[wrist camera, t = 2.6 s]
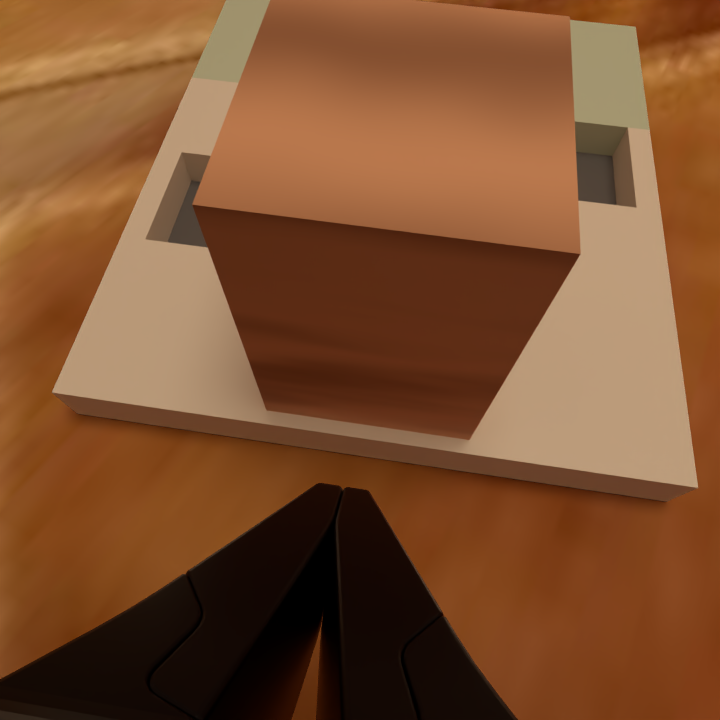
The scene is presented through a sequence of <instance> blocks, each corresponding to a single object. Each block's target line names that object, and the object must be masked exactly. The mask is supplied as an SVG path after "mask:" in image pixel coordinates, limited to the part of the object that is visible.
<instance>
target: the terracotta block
mask: <svg viewBox="0 0 720 720" xmlns="http://www.w3.org/2000/svg"><path fill="white" fill-rule="evenodd" d="M192 206H193V208H194V211H195V214H196V217H197V220H198V222H199V225H200V228H201V231H202V233H203V236H204V239H205V242H206V244H207V247H208V250H209V253H210V256H211V258H212V261H213V264H214V267H215V269H216V272H217V275H218V278H219V280H220V283H221V286H222V289H223V292H224V294H225V297H226V300H227V303H228V305H229V308H230V311H231V314H232V316H233V319H234V322H235V325H236V327H237V330H238V333H239V336H240V339H241V341H242V344H243V347H244V350H245V352H246V355H247V358H248V361H249V363H250V366H251V369H252V372H253V375H254V377H255V380H256V383H257V386H258V388H259V391H260V394H261V397H262V399H263V402H264V405H265V408H266V410H267V411H274V412H281V413H288V414H295V415H302V416H308V417H315V418H322V419H329V420H336V421H343V422H349V423H356V424H363V425H370V426H377V427H384V428H390V429H397V430H404V431H411V432H418V433H425V434H431V435H438V436H445V437H452V438H459V439H466V440H470V438H471V437H472V435H473V433H474V432H475V430H476V428H477V427H478V425H479V423H480V422H481V420H482V418H483V417H484V415H485V413H486V412H487V410H488V408H489V407H490V405H491V403H492V402H493V400H494V398H495V396H496V395H497V393H498V391H499V390H500V388H501V386H502V385H503V383H504V381H505V380H506V378H507V376H508V375H509V373H510V371H511V370H512V368H513V366H514V365H515V363H516V361H517V360H518V358H519V356H520V355H521V353H522V351H523V350H524V348H525V346H526V345H527V343H528V341H529V340H530V338H531V336H532V335H533V333H534V331H535V330H536V328H537V326H538V325H539V323H540V321H541V320H542V318H543V316H544V315H545V313H546V311H547V310H548V308H549V306H550V305H551V303H552V301H553V299H554V298H555V296H556V294H557V293H558V291H559V289H560V288H561V286H562V284H563V283H564V281H565V279H566V278H567V276H568V274H569V273H570V271H571V269H572V268H573V266H574V264H575V263H576V261H577V259H578V258H579V256H580V254H581V249H580V227H579V205H578V183H577V162H576V140H575V118H574V96H573V74H572V52H571V30H570V17H568V16H559V15H549V14H539V13H530V12H520V11H511V10H501V9H492V8H482V7H473V6H463V5H453V4H444V3H434V2H425V1H415V0H270V2H269V4H268V7H267V10H266V12H265V15H264V18H263V20H262V23H261V25H260V28H259V31H258V33H257V36H256V39H255V41H254V44H253V46H252V49H251V52H250V54H249V57H248V59H247V62H246V65H245V67H244V70H243V73H242V75H241V78H240V80H239V83H238V86H237V88H236V91H235V94H234V96H233V99H232V101H231V104H230V107H229V109H228V112H227V114H226V117H225V120H224V122H223V125H222V128H221V130H220V133H219V135H218V138H217V141H216V143H215V146H214V149H213V151H212V154H211V156H210V159H209V162H208V164H207V167H206V169H205V172H204V175H203V177H202V180H201V183H200V185H199V188H198V190H197V193H196V196H195V198H194V201H193V204H192Z"/></svg>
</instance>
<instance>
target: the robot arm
mask: <svg viewBox="0 0 720 720" xmlns="http://www.w3.org/2000/svg"><path fill="white" fill-rule="evenodd" d="M322 617H323V620H322ZM321 622H322V628H321V640H320V656H319V675H318V693H317V712H316V720H518V719H517V718H516V717H515V716H514V714H513V713H512V712H511V710H510V709H509V708H508V707H507V705H506V704H505V703H504V702H503V700H502V699H501V698H500V696H499V695H498V694H497V692H496V691H495V690H494V688H493V687H492V686H491V684H490V683H489V682H488V680H487V679H486V678H485V676H484V675H483V674H482V672H481V671H480V669H479V668H478V667H477V665H476V664H475V663H474V661H473V660H472V658H471V657H470V655H469V653H468V652H467V650H466V649H465V647H464V646H463V644H462V643H461V641H460V640H459V638H458V637H457V635H456V633H455V632H454V630H453V629H452V627H451V625H450V624H449V622H448V620H447V619H446V617H444V615H443V612H442V611H441V609H440V607H439V606H438V604H437V602H436V601H435V599H434V598H433V596H432V594H431V593H430V591H429V589H428V588H427V586H426V584H425V583H424V581H423V579H422V578H421V576H420V574H419V573H418V571H417V569H416V568H415V566H414V565H413V563H412V561H411V560H410V558H409V556H408V555H407V553H406V551H405V550H404V548H403V546H402V545H401V543H400V541H399V540H398V538H397V537H396V535H395V533H394V532H393V530H392V528H391V527H390V525H389V523H388V522H387V520H386V518H385V517H384V515H383V513H382V512H381V510H380V509H379V507H378V505H377V504H376V502H375V500H374V499H373V497H372V495H371V494H370V492H369V491H367V490H363V489H357V488H350V487H346V488H345V489H344V490H343V489H342V488H341V487H340V486H337V485H330V484H324V483H318V484H316V485H315V486H313V487H312V488H310V489H309V490H307V491H306V492H304V493H303V494H301V495H300V496H298V497H297V498H295V499H294V500H292V501H291V502H289V503H288V504H286V505H285V506H284V507H282V508H281V509H279V510H278V511H276V512H275V513H273V514H272V515H270V516H269V517H267V518H266V519H264V520H263V521H261V522H260V523H258V524H257V525H255V526H254V527H252V528H251V529H249V530H248V531H246V532H245V533H243V534H242V535H240V536H239V537H237V538H236V539H235V540H233V541H232V542H230V543H229V544H227V545H226V546H224V547H223V548H221V549H220V550H218V551H217V552H215V553H214V554H212V555H211V556H209V557H208V558H206V559H205V560H203V561H202V562H200V563H199V564H197V565H196V566H194V567H193V568H191V569H190V570H188V571H187V573H186V574H182V575H181V576H179V577H178V578H176V579H175V580H173V581H172V582H170V583H169V584H167V585H166V586H164V587H163V588H161V589H160V590H158V591H156V592H155V593H153V594H152V595H150V596H149V597H147V598H145V599H144V600H142V601H141V602H139V603H138V604H136V605H134V606H133V607H131V608H129V609H128V610H126V611H124V612H122V613H121V614H119V615H117V616H115V617H113V618H112V619H110V620H108V621H106V622H105V623H103V624H101V625H99V626H98V627H96V628H94V629H92V630H90V631H89V632H87V633H85V634H83V635H81V636H79V637H78V638H76V639H74V640H72V641H70V642H68V643H66V644H65V645H63V646H61V647H59V648H57V649H55V650H53V651H52V652H50V653H48V654H46V655H44V656H42V657H41V658H39V659H37V660H35V661H33V662H31V663H29V664H28V665H26V666H24V667H22V668H20V669H18V670H16V671H15V672H13V673H11V674H9V675H7V676H5V677H4V678H2V679H0V720H291V719H292V716H293V713H294V710H295V707H296V703H297V700H298V697H299V694H300V691H301V688H302V685H303V682H304V678H305V675H306V672H307V669H308V666H309V663H310V660H311V657H312V654H313V650H314V647H315V644H316V641H317V637H318V634H319V630H320V627H321Z"/></svg>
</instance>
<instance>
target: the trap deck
mask: <svg viewBox="0 0 720 720" xmlns="http://www.w3.org/2000/svg"><path fill="white" fill-rule="evenodd" d="M237 86H238V83H236V82H227V81H218V80H210V79H201V78H191V81H190V83H189V85H188V87H187V90H186V92H185V94H184V96H183V99H182V101H181V103H180V105H179V108H178V110H177V112H176V114H175V117H174V119H173V121H172V123H171V126H170V128H169V130H168V132H167V135H166V137H165V139H164V141H163V144H162V146H161V148H160V150H159V153H158V155H157V157H156V159H155V162H154V164H153V166H152V168H151V171H150V173H149V175H148V177H147V180H146V182H145V184H144V186H143V189H142V191H141V193H140V195H139V198H138V200H137V202H136V204H135V207H134V209H133V211H132V213H131V216H130V218H129V220H128V222H127V225H126V227H125V229H124V231H123V234H122V236H121V238H120V240H119V243H118V245H117V247H116V249H115V252H114V254H113V256H112V258H111V261H110V263H109V265H108V267H107V270H106V272H105V274H104V276H103V279H102V281H101V283H100V285H99V288H98V290H97V292H96V294H95V297H94V299H93V301H92V303H91V306H90V308H89V310H88V312H87V315H86V317H85V319H84V321H83V324H82V326H81V328H80V330H79V333H78V335H77V337H76V339H75V342H74V344H73V346H72V348H71V351H70V353H69V355H68V357H67V360H66V362H65V364H64V366H63V369H62V371H61V373H60V375H59V378H58V380H57V382H56V384H55V387H54V389H53V391H52V393H53V394H54V395H55V396H57V397H58V398H59V399H60V400H61V401H63V402H64V403H65V404H66V405H67V406H69V407H70V408H71V409H72V410H73V411H75V412H76V413H77V414H83V415H89V416H96V417H103V418H109V419H116V420H123V421H129V422H136V423H143V424H150V425H156V426H163V427H170V428H176V429H183V430H190V431H196V432H203V433H210V434H217V435H223V436H230V437H237V438H243V439H250V440H257V441H263V442H270V443H277V444H283V445H290V446H297V447H304V448H310V449H317V450H324V451H330V452H337V453H344V454H350V455H357V456H364V457H371V458H377V459H384V460H391V461H397V462H404V463H411V464H417V465H424V466H431V467H438V468H444V469H451V470H458V471H464V472H471V473H478V474H484V475H491V476H498V477H505V478H511V479H518V480H525V481H531V482H538V483H545V484H551V485H558V486H565V487H571V488H578V489H585V490H592V491H598V492H605V493H612V494H618V495H625V496H632V497H638V498H645V499H652V500H659V501H665V502H667V501H669V500H671V499H674V498H676V497H678V496H681V495H683V494H685V493H687V492H690V491H692V490H694V489H697V488H698V484H697V477H696V469H695V462H694V454H693V447H692V440H691V432H690V425H689V418H688V410H687V403H686V395H685V388H684V381H683V373H682V366H681V359H680V351H679V344H678V336H677V329H676V322H675V314H674V307H673V300H672V292H671V285H670V277H669V270H668V263H667V255H666V248H665V240H664V233H663V226H662V218H661V211H660V204H659V196H658V189H657V181H656V174H655V167H654V159H653V152H652V145H651V137H650V130H646V129H637V128H627V130H626V132H625V134H624V135H623V137H622V139H621V141H620V143H619V145H618V146H617V148H616V150H615V152H614V154H613V156H608V155H599V154H591V153H582V152H576V162H577V183H578V205H579V227H580V249H581V254H580V256H579V258H578V259H577V261H576V263H575V264H574V266H573V268H572V269H571V271H570V273H569V274H568V276H567V278H566V279H565V281H564V283H563V284H562V286H561V288H560V289H559V291H558V293H557V294H556V296H555V298H554V299H553V301H552V303H551V305H550V306H549V308H548V310H547V311H546V313H545V315H544V316H543V318H542V320H541V321H540V323H539V325H538V326H537V328H536V330H535V331H534V333H533V335H532V336H531V338H530V340H529V341H528V343H527V345H526V346H525V348H524V350H523V351H522V353H521V355H520V356H519V358H518V360H517V361H516V363H515V365H514V366H513V368H512V370H511V371H510V373H509V375H508V376H507V378H506V380H505V381H504V383H503V385H502V386H501V388H500V390H499V391H498V393H497V395H496V396H495V398H494V400H493V402H492V403H491V405H490V407H489V408H488V410H487V412H486V413H485V415H484V417H483V418H482V420H481V422H480V423H479V425H478V427H477V428H476V430H475V432H474V433H473V435H472V437H471V438H470V440H466V439H459V438H452V437H445V436H438V435H431V434H425V433H418V432H411V431H404V430H397V429H390V428H384V427H377V426H370V425H363V424H356V423H349V422H343V421H336V420H329V419H322V418H315V417H308V416H302V415H295V414H288V413H281V412H274V411H267V410H266V408H265V405H264V402H263V399H262V397H261V394H260V391H259V388H258V386H257V383H256V380H255V377H254V375H253V372H252V369H251V366H250V363H249V361H248V358H247V355H246V352H245V350H244V347H243V344H242V341H241V339H240V336H239V333H238V330H237V327H236V325H235V322H234V319H233V316H232V314H231V311H230V308H229V305H228V303H227V300H226V297H225V294H224V292H223V289H222V286H221V283H220V280H219V278H218V275H217V272H216V269H215V267H214V264H213V261H212V258H211V256H210V253H209V250H208V247H207V244H206V242H205V239H204V236H203V233H202V231H201V228H200V225H199V222H198V220H197V217H196V214H195V211H194V208H193V206H192V204H193V201H194V198H195V196H196V193H197V190H198V188H199V185H200V183H201V180H202V177H203V175H204V172H205V169H206V167H207V164H208V162H209V159H210V156H211V154H212V151H213V149H214V146H215V143H216V141H217V138H218V135H219V133H220V130H221V128H222V125H223V122H224V120H225V117H226V114H227V112H228V109H229V107H230V104H231V101H232V99H233V96H234V94H235V91H236V88H237Z"/></svg>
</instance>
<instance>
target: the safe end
mask: <svg viewBox="0 0 720 720" xmlns="http://www.w3.org/2000/svg"><path fill="white" fill-rule="evenodd" d="M269 2H270V0H226V2H225V4H224V6H223V9H222V11H221V13H220V15H219V18H218V20H217V22H216V24H215V27H214V29H213V31H212V33H211V36H210V38H209V40H208V42H207V45H206V47H205V49H204V51H203V54H202V56H201V58H200V60H199V63H198V65H197V67H196V69H195V72H194V74H193V76H192V78H201V79H210V80H218V81H227V82H236V83H239V80H240V78H241V75H242V73H243V70H244V67H245V65H246V62H247V59H248V57H249V54H250V52H251V49H252V46H253V44H254V41H255V39H256V36H257V33H258V31H259V28H260V25H261V23H262V20H263V18H264V15H265V12H266V10H267V7H268V4H269ZM570 30H571V52H572V74H573V96H574V118H575V140H576V152H582V153H591V154H599V155H608V156H613V154H614V152H615V150H616V148H617V146H618V145H619V143H620V141H621V139H622V137H623V135H624V134H625V132H626V130H627V128H637V129H646V130H649V122H648V115H647V108H646V100H645V93H644V86H643V78H642V71H641V63H640V56H639V49H638V41H637V34H636V27H632V26H622V25H613V24H603V23H594V22H584V21H575V20H570Z"/></svg>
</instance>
